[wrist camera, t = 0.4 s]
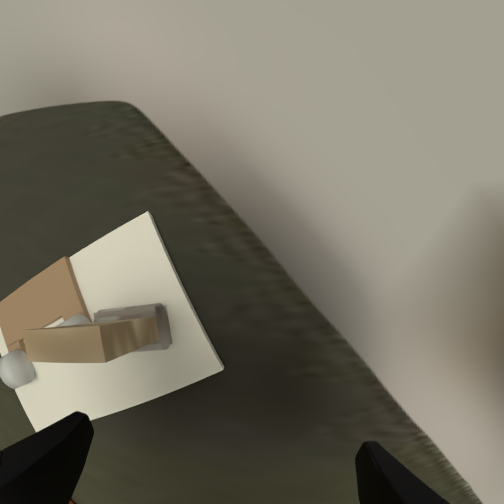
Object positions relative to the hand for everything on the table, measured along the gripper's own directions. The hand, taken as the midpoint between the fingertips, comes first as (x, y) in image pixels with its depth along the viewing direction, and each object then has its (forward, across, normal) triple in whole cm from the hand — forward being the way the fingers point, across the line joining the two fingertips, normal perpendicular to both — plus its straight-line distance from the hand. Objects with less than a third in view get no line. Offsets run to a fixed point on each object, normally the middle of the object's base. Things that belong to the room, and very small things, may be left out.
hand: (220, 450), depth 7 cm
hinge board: (+13, +15, +7) cm, 21 cm away
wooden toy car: (+14, +8, +4) cm, 16 cm away
